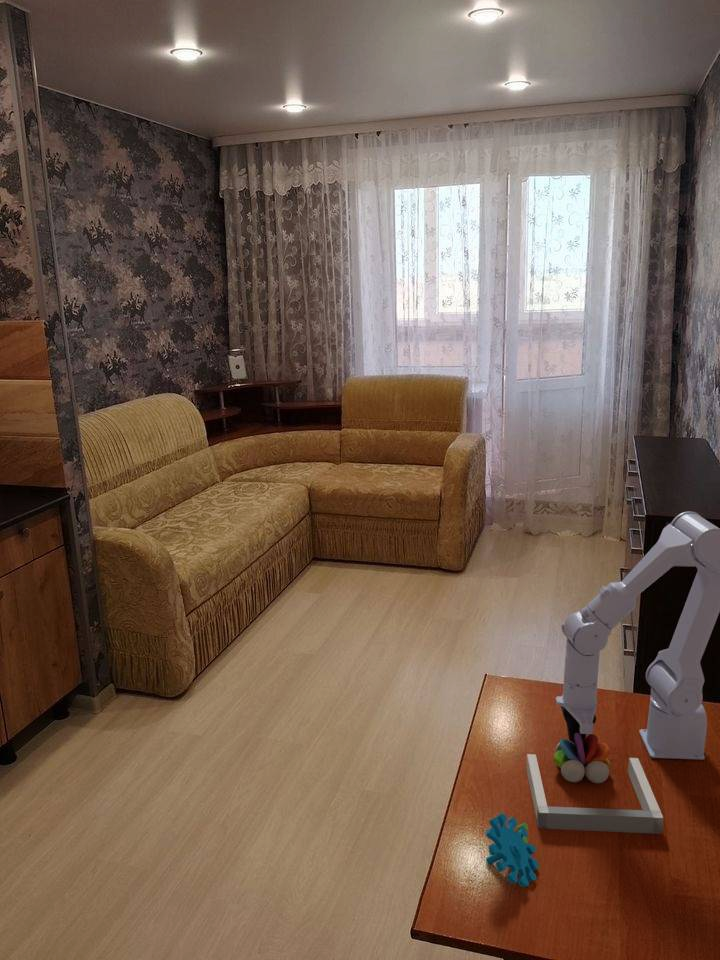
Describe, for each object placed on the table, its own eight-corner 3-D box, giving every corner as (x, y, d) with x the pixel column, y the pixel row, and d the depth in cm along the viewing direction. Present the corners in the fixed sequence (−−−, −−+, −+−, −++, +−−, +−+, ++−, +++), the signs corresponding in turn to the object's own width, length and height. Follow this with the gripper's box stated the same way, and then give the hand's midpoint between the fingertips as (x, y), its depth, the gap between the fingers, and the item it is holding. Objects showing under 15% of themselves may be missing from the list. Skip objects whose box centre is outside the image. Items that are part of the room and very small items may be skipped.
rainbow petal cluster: (615, 788, 127) (618, 751, 125) (556, 786, 128) (559, 749, 126) (603, 756, 135) (606, 721, 133) (549, 754, 136) (551, 719, 134)
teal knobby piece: (526, 898, 103) (483, 832, 106) (495, 912, 106) (454, 847, 109) (552, 856, 113) (512, 796, 115) (523, 869, 116) (484, 811, 118)
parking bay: (636, 772, 131) (638, 758, 130) (661, 833, 117) (663, 817, 116) (526, 768, 132) (527, 754, 131) (538, 828, 118) (539, 812, 118)
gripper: (551, 656, 139) (547, 719, 143) (564, 700, 126) (560, 769, 129) (589, 657, 139) (585, 721, 143) (607, 702, 125) (601, 771, 129)
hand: (575, 744), depth 136 cm, fingers closed
